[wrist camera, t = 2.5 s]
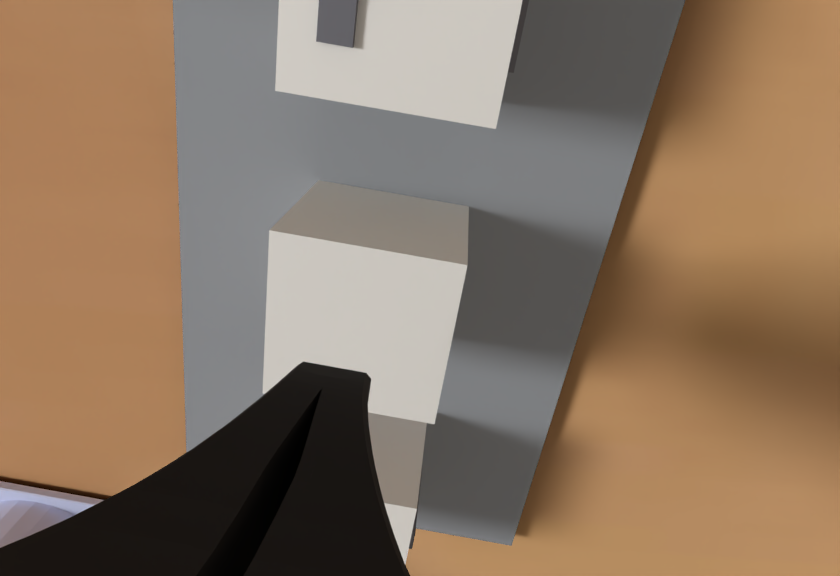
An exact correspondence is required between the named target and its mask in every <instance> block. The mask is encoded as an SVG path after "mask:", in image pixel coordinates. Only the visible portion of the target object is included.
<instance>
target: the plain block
mask: <svg viewBox="0 0 840 576" xmlns="http://www.w3.org/2000/svg"><path fill="white" fill-rule="evenodd" d="M468 223H469V206H463V205H457V204H452V203H446V202H440V201H435V200H429V199H423V198H417V197H412V196H406V195H400V194H395V193H389V192H383V191H377V190H372V189H366V188H360V187H355V186H349V185H343V184H338V183H332V182H326V181H320V180H318V181H317V182H316V183H315V184H314V185H313V186H312V187H311V188H310V189H309V190H308V191H307V192H306V194H305V195H304V196H303V197H302V198H301V199H300V200H299V201H298V202H297V203H296V204H295V205H294V206H293V207H292V208H291V209H290V210H289V211H288V212H287V213H286V214H285V215H284V216H283V217H282V218H281V219H280V220H279V221H278V222H277V223H276V224H275V225H274V226H273V227H272V228H271V229H270V230H269V248H268V272H267V296H266V320H265V344H264V368H263V392H262V393H263V394H265V393H266V392H268V391H269V390H270V389H271V388H272V387H273V386H275V385H276V384H277V383H278V382H279V381H280V380H281V379H283V378H284V377H285V376H286V375H287V374H288V373H289V372H290V371H291V370H293V369H294V368H295V367H296V366H297V365H299V364H300V363H302V362H309V363H315V364H320V365H326V366H331V367H337V368H342V369H348V370H354V371H359V372H365V373H367V374H368V375H369V377H370V378H371V385H370V392H369V399H368V412H369V413H374V414H380V415H385V416H391V417H397V418H402V419H408V420H413V421H419V422H424V423H430V424H435V419H436V415H437V410H438V405H439V400H440V395H441V391H442V386H443V381H444V376H445V371H446V367H447V362H448V357H449V352H450V347H451V342H452V338H453V333H454V328H455V323H456V318H457V314H458V309H459V304H460V299H461V294H462V290H463V285H464V280H465V275H466V270H467V266H468Z"/></svg>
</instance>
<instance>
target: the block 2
mask: <svg viewBox="0 0 840 576" xmlns="http://www.w3.org/2000/svg"><path fill="white" fill-rule="evenodd" d="M368 421H369V431H370V438H371V445H372V451H373V457H374V462H375V468H376V472H377V476H378V481H379V485H380V489H381V493H382V497H383V501H384V504H385V508H386V511H387V514H388V517H389V521H390V524H391V527H392V530H393V533H394V536H395V539H396V541H397V544H398V547H399V550H400V552H401V555H402V558H403V561H404V563H405V564H406V559H407V554H408V549H412V546H413V541H414V536H415V530H416V522H417V513H418V504H419V495H420V486H421V477H422V460H423V452H424V443H425V434H426V426H427V423H424V422H419V421H413V420H408V419H402V418H397V417H391V416H385V415H380V414H374V413H369V412H368Z"/></svg>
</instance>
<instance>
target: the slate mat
mask: <svg viewBox="0 0 840 576" xmlns="http://www.w3.org/2000/svg"><path fill="white" fill-rule="evenodd" d="M684 3H685V0H529V3H528V8H527V13H526V18H525V22H524V27H523V32H522V36H521V41H520V46H519V51H518V55H517V60H516V65H515V69H514V73H510V72H508V73H507V78H506V83H505V88H504V92H503V97H502V102H501V107H500V112H499V117H498V121H497V126H496V129H492V128H487V127H481V126H475V125H469V124H464V123H458V122H452V121H446V120H441V119H435V118H429V117H423V116H417V115H412V114H406V113H400V112H394V111H389V110H383V109H377V108H371V107H366V106H360V105H354V104H348V103H343V102H337V101H331V100H325V99H320V98H314V97H308V96H302V95H297V94H291V93H285V92H279V91H275V81H276V57H277V33H278V9H279V0H173V22H174V55H175V88H176V120H177V153H178V186H179V219H180V252H181V285H182V318H183V351H184V384H185V417H186V449H187V452H188V451H190V450H191V449H193V448H194V447H196V446H197V445H198V444H200V443H201V442H203V441H204V440H205V439H207V438H208V437H210V436H211V435H212V434H214V433H215V432H217V431H218V430H220V429H221V428H222V427H224V426H225V425H226V424H228V423H229V422H230V421H232V420H233V419H234V418H235V417H237V416H238V415H239V414H241V413H242V412H243V411H244V410H246V409H247V408H248V407H249V406H251V405H252V404H253V403H254V402H256V401H257V400H258V399H259V398H260V397H262V396H263V395H264V394H263V393H262V392H263V368H264V344H265V320H266V296H267V272H268V248H269V230H270V229H271V228H272V227H273V226H274V225H275V224H276V223H277V222H278V221H279V220H280V219H281V218H282V217H283V216H284V215H285V214H286V213H287V212H288V211H289V210H290V209H291V208H292V207H293V206H294V205H295V204H296V203H297V202H298V201H299V200H300V199H301V198H302V197H303V196H304V195H305V194H306V192H307V191H308V190H309V189H310V188H311V187H312V186H313V185H314V184H315V183H316V182H317V181H318V180H320V181H326V182H332V183H338V184H343V185H349V186H355V187H360V188H366V189H372V190H377V191H383V192H389V193H395V194H400V195H406V196H412V197H417V198H423V199H429V200H435V201H440V202H446V203H452V204H457V205H463V206H469V223H468V266H467V270H466V275H465V280H464V285H463V290H462V294H461V299H460V304H459V309H458V314H457V318H456V323H455V328H454V333H453V338H452V342H451V347H450V352H449V357H448V362H447V367H446V371H445V376H444V381H443V386H442V391H441V395H440V400H439V405H438V410H437V415H436V419H435V424H430V423H427V426H426V434H425V443H424V452H423V460H422V477H421V486H420V495H419V504H418V513H417V522H416V528H417V529H423V530H428V531H434V532H439V533H445V534H450V535H456V536H461V537H467V538H472V539H478V540H483V541H489V542H494V543H500V544H505V545H512V542H513V539H514V536H515V533H516V530H517V526H518V523H519V520H520V517H521V514H522V511H523V508H524V505H525V501H526V498H527V495H528V492H529V489H530V486H531V483H532V479H533V476H534V473H535V470H536V467H537V464H538V461H539V457H540V454H541V451H542V448H543V445H544V442H545V439H546V436H547V432H548V429H549V426H550V423H551V420H552V417H553V414H554V410H555V407H556V404H557V401H558V398H559V395H560V392H561V388H562V385H563V382H564V379H565V376H566V373H567V370H568V366H569V363H570V360H571V357H572V354H573V351H574V348H575V345H576V341H577V338H578V335H579V332H580V329H581V326H582V323H583V319H584V316H585V313H586V310H587V307H588V304H589V301H590V297H591V294H592V291H593V288H594V285H595V282H596V279H597V276H598V272H599V269H600V266H601V263H602V260H603V257H604V254H605V250H606V247H607V244H608V241H609V238H610V235H611V232H612V228H613V225H614V222H615V219H616V216H617V213H618V210H619V206H620V203H621V200H622V197H623V194H624V191H625V188H626V185H627V181H628V178H629V175H630V172H631V169H632V166H633V163H634V159H635V156H636V153H637V150H638V147H639V144H640V141H641V137H642V134H643V131H644V128H645V125H646V122H647V119H648V116H649V112H650V109H651V106H652V103H653V100H654V97H655V94H656V90H657V87H658V84H659V81H660V78H661V75H662V72H663V68H664V65H665V62H666V59H667V56H668V53H669V50H670V46H671V43H672V40H673V37H674V34H675V31H676V28H677V25H678V21H679V18H680V15H681V12H682V9H683V6H684Z"/></svg>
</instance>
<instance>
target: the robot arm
mask: <svg viewBox="0 0 840 576" xmlns="http://www.w3.org/2000/svg"><path fill="white" fill-rule="evenodd" d="M370 385H371V378H370V377H369V375H368V374H367V373H365V372H359V371H354V370H348V369H342V368H337V367H331V366H326V365H320V364H315V363H309V362H302V363H300V364H299V365H297V366H296V367H295V368H294V369H293V370H291V371H290V372H289V373H288V374H287V375H286V376H285V377H284V378H283V379H281V380H280V381H279V382H278V383H277V384H276V385H275V386H273V387H272V388H271V389H270V390H269V391H268V392H266V393H265V394H264V395H263V396H262V397H260V398H259V399H258V400H257V401H256V402H254V403H253V404H252V405H251V406H249V407H248V408H247V409H246V410H244V411H243V412H242V413H241V414H239V415H238V416H237V417H235V418H234V419H233V420H232V421H230V422H229V423H228V424H226V425H225V426H224V427H222V428H221V429H220V430H218V431H217V432H215V433H214V434H212V435H211V436H210V437H208V438H207V439H205V440H204V441H203V442H201V443H200V444H198V445H197V446H196V447H194V448H193V449H191V450H190V451H188V452H187V453H185V454H184V455H182V456H181V457H179V458H178V459H176V460H175V461H173V462H171V463H170V464H168V465H167V466H165V467H163V468H162V469H160V470H158V471H157V472H155V473H153V474H152V475H150V476H148V477H147V478H145V479H143V480H142V481H140V482H138V483H136V484H135V485H133V486H131V487H129V488H127V489H125V490H123V491H122V492H120V493H118V494H116V495H114V496H112V497H110V498H108V499H106V500H102V499H96V498H91V497H85V496H80V495H74V494H69V493H63V492H58V491H52V490H47V489H41V488H36V487H30V486H25V485H19V484H14V483H8V482H3V481H0V576H410V575H409V572H408V570H407V568H406V565H405V563H404V561H403V558H402V555H401V552H400V550H399V547H398V544H397V541H396V539H395V536H394V533H393V530H392V527H391V524H390V521H389V517H388V514H387V511H386V508H385V504H384V501H383V497H382V493H381V489H380V485H379V481H378V476H377V472H376V468H375V462H374V457H373V451H372V445H371V438H370V431H369V421H368V399H369V392H370Z"/></svg>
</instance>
